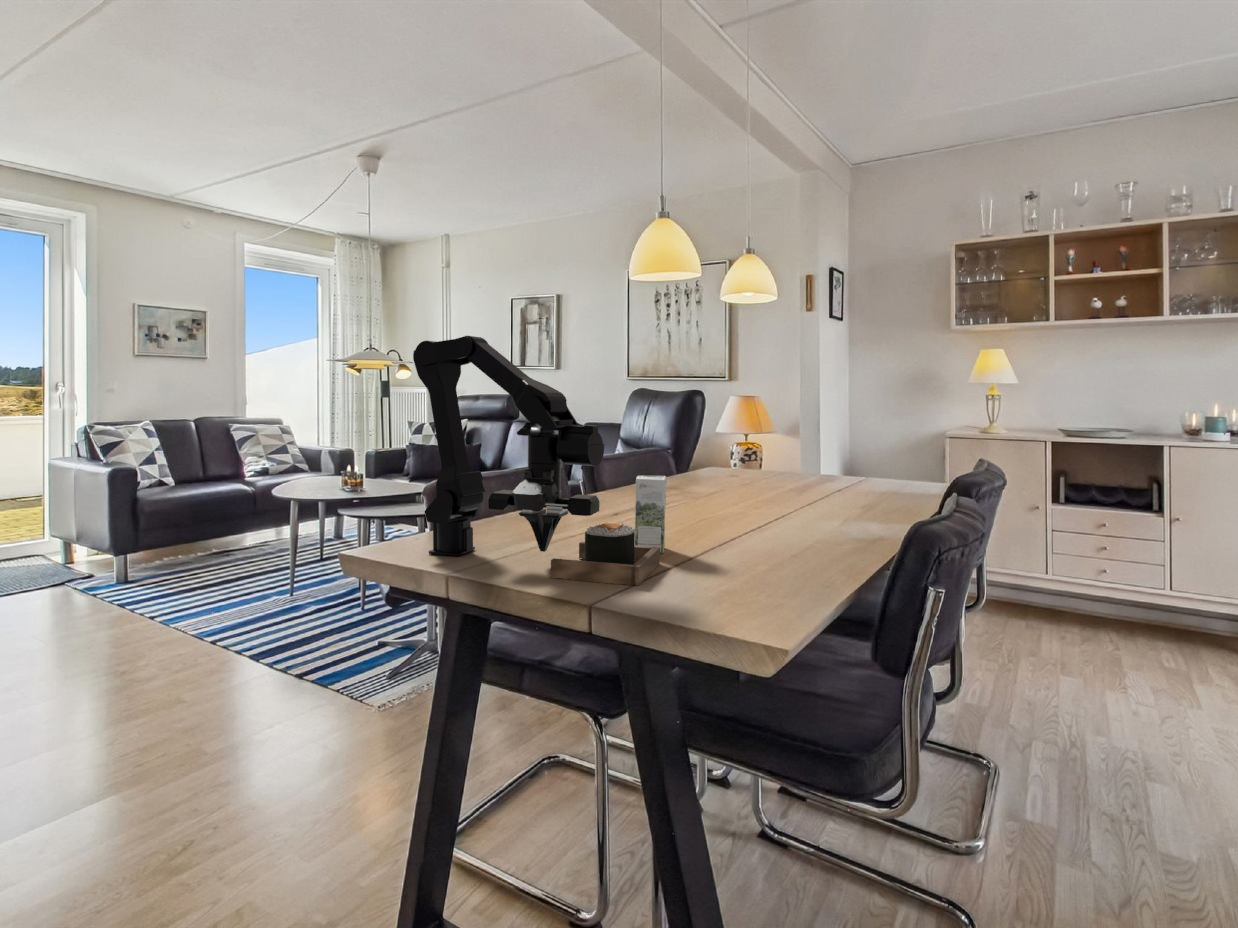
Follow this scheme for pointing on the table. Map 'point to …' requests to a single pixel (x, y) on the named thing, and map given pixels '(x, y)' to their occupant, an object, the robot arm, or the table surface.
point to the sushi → (610, 544)
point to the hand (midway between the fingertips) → (543, 551)
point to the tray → (608, 567)
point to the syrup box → (650, 511)
